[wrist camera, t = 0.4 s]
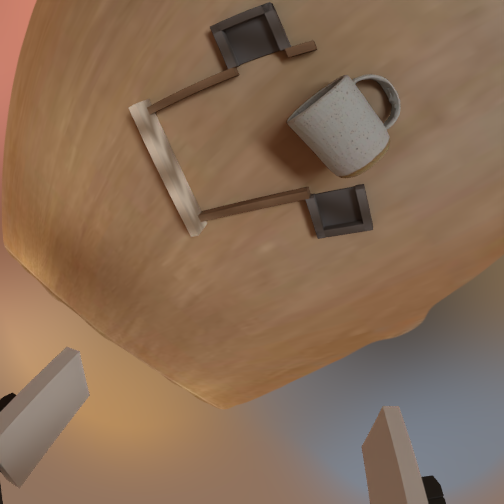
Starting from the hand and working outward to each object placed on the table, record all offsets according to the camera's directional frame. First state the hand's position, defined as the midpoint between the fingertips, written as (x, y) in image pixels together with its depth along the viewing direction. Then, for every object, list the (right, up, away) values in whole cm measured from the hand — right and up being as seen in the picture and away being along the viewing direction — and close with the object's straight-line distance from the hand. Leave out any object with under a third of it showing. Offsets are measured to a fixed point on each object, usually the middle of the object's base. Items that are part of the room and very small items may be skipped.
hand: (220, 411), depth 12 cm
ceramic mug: (+12, +21, +18) cm, 31 cm away
